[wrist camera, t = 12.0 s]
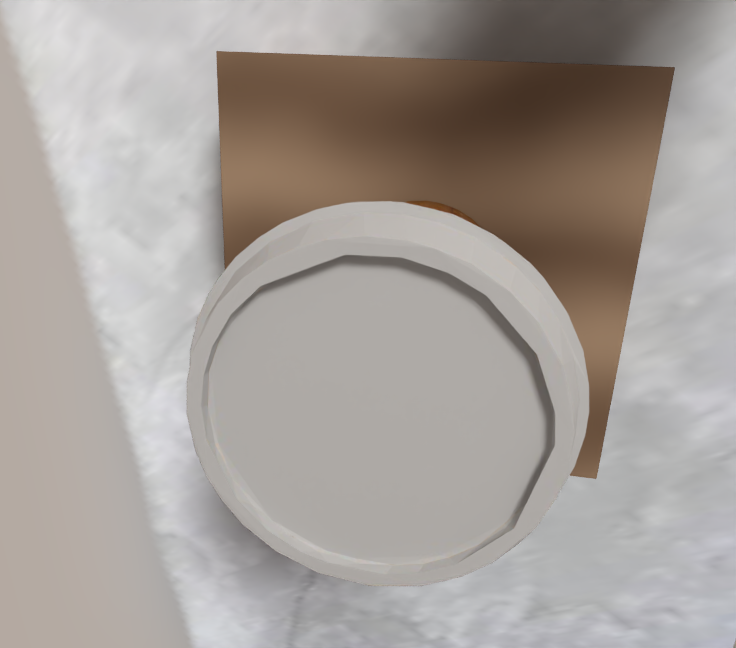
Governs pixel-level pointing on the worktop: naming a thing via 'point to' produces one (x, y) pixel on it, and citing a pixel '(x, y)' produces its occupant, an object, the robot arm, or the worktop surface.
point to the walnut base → (461, 166)
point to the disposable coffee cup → (386, 392)
